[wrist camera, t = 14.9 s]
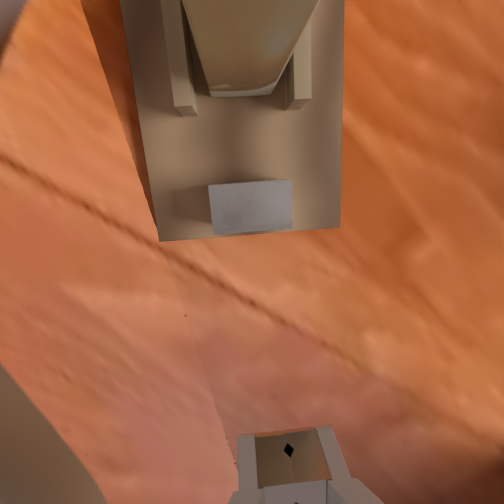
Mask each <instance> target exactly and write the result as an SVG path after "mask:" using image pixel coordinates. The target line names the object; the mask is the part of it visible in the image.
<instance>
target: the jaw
mask: <svg viewBox="0 0 504 504" xmlns="http://www.w3.org/2000/svg"><path fill="white" fill-rule="evenodd" d="M208 190H209V199H210V208H211V218H212V227H213V235H216V234H228V233H241V232H253V231H266V230H278V229H291V228H293V225H292V190H291V179H271V180H257V181H243V182H229V183H215V184H210V185H208Z"/></svg>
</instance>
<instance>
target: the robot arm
mask: <svg viewBox="0 0 504 504" xmlns="http://www.w3.org/2000/svg"><path fill="white" fill-rule="evenodd" d="M255 447H256V448H255ZM238 476H239V491H235V492H233V494H232V496H231V498H230V500H229V502H228V504H385V503H384V502H382V501H381V500H380V499H379V498H378V497H377V496H376V495H375V494H374V493H373V492H372V491H371V490H370V489H369V488H367V487H366V486H365V485H364V484H363V483H362V482H361V481H360V480H359V479H358V478H357V477H355V478H352V477H351V475H350V472H349V470H348V467H347V465H346V462H345V459H344V457H343V454H342V452H341V449H340V447H339V444H338V442H337V439H336V436H335V434H334V431H333V429H332V427H331V426H330V425H326V426H317V427H306V428H298V429H290V430H284V431H275V432H262V433H255V437H254V433H252V434H241V435H239V437H238Z"/></svg>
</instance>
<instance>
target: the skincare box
mask: <svg viewBox="0 0 504 504" xmlns="http://www.w3.org/2000/svg"><path fill="white" fill-rule="evenodd" d="M182 2H183V5H184V9H185V12H186V15H187V18H188V22H189V25H190V28H191V31H192V35H193V38H194V41H195V45H196V48H197V51H198V55H199V58H200V61H201V64H202V68H203V71H204V74H205V78H206V81H207V85H208V88H209V92H210V95H211V96H212V97H237V96H258V95H269V94H271V93H272V92H273V90H274V88H275V86H276V84H277V82H278V80H279V78H280V76H281V74H282V72H283V71H284V69H285V67H286V65H287V63H288V61H289V59H290V57H291V55H292V53H293V51H294V49H295V48H296V46H297V44H298V42H299V40H300V38H301V36H302V34H303V32H304V30H305V28H306V26H307V24H308V22H309V21H310V19H311V17H312V15H313V13H314V11H315V9H316V7H317V5H318V3H319V2H320V0H182Z"/></svg>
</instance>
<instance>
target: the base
mask: <svg viewBox="0 0 504 504" xmlns="http://www.w3.org/2000/svg"><path fill="white" fill-rule="evenodd" d="M119 2H120V8H121V14H122V20H123V26H124V32H125V38H126V44H127V50H128V56H129V62H130V68H131V74H132V80H133V86H134V92H135V98H136V104H137V110H138V116H139V122H140V128H141V134H142V140H143V146H144V152H145V158H146V165H147V171H148V177H149V183H150V189H151V195H152V201H153V207H154V213H155V219H156V225H157V231H158V237H159V242H164V241H176V240H189V239H201V238H214V237H226V236H239V235H251V234H263V233H276V232H288V231H301V230H313V229H326V228H338V227H340V202H341V151H342V100H343V48H344V0H320V2H319V3H318V5H317V7H316V9H315V11H314V13H313V15H312V17H311V19H310V21H309V22H308V24H307V26H306V28H305V30H304V32H303V34H302V36H301V38H300V40H299V42H298V44H297V46H296V48H295V49H294V51H293V53H292V55H291V57H290V59H289V61H288V63H287V65H286V67H285V69H284V71H283V72H282V74H281V76H280V78H279V80H278V82H277V84H276V86H275V88H274V90H273V92H272V93H271V94H269V95H258V96H237V97H212V96H211V95H210V92H209V88H208V85H207V81H206V78H205V74H204V71H203V68H202V64H201V61H200V58H199V55H198V51H197V48H196V45H195V41H194V38H193V35H192V31H191V28H190V25H189V22H188V18H187V15H186V12H185V9H184V5H183V2H182V0H119ZM271 179H291V190H292V225H293V228H291V229H278V230H266V231H253V232H241V233H228V234H216V235H213V227H212V218H211V208H210V199H209V190H208V185H210V184H215V183H229V182H243V181H257V180H271Z"/></svg>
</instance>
